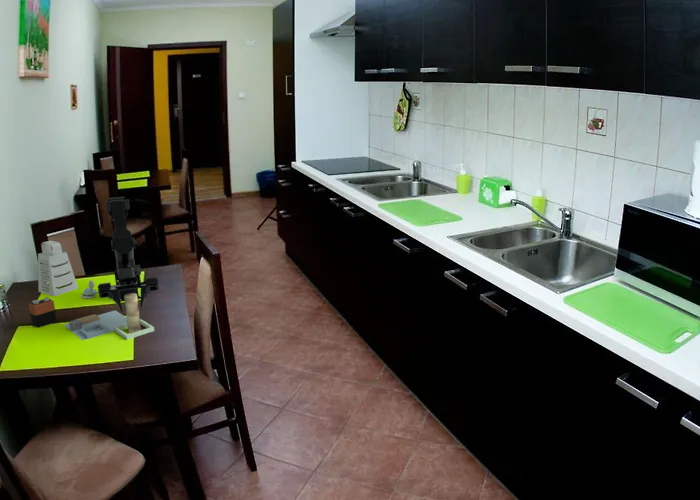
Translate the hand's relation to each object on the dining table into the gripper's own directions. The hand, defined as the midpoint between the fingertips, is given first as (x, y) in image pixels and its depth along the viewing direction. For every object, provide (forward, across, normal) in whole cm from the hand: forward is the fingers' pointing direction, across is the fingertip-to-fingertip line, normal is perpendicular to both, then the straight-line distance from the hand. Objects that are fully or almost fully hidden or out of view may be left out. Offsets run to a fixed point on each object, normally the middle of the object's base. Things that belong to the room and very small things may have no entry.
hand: (131, 310), depth 192 cm
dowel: (+5, 0, +7) cm, 9 cm away
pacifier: (-26, -14, +39) cm, 49 cm away
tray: (+6, 0, +7) cm, 9 cm away
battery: (-8, -28, +21) cm, 36 cm away
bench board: (-2, -11, +15) cm, 18 cm away
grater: (-34, -26, +48) cm, 65 cm away
